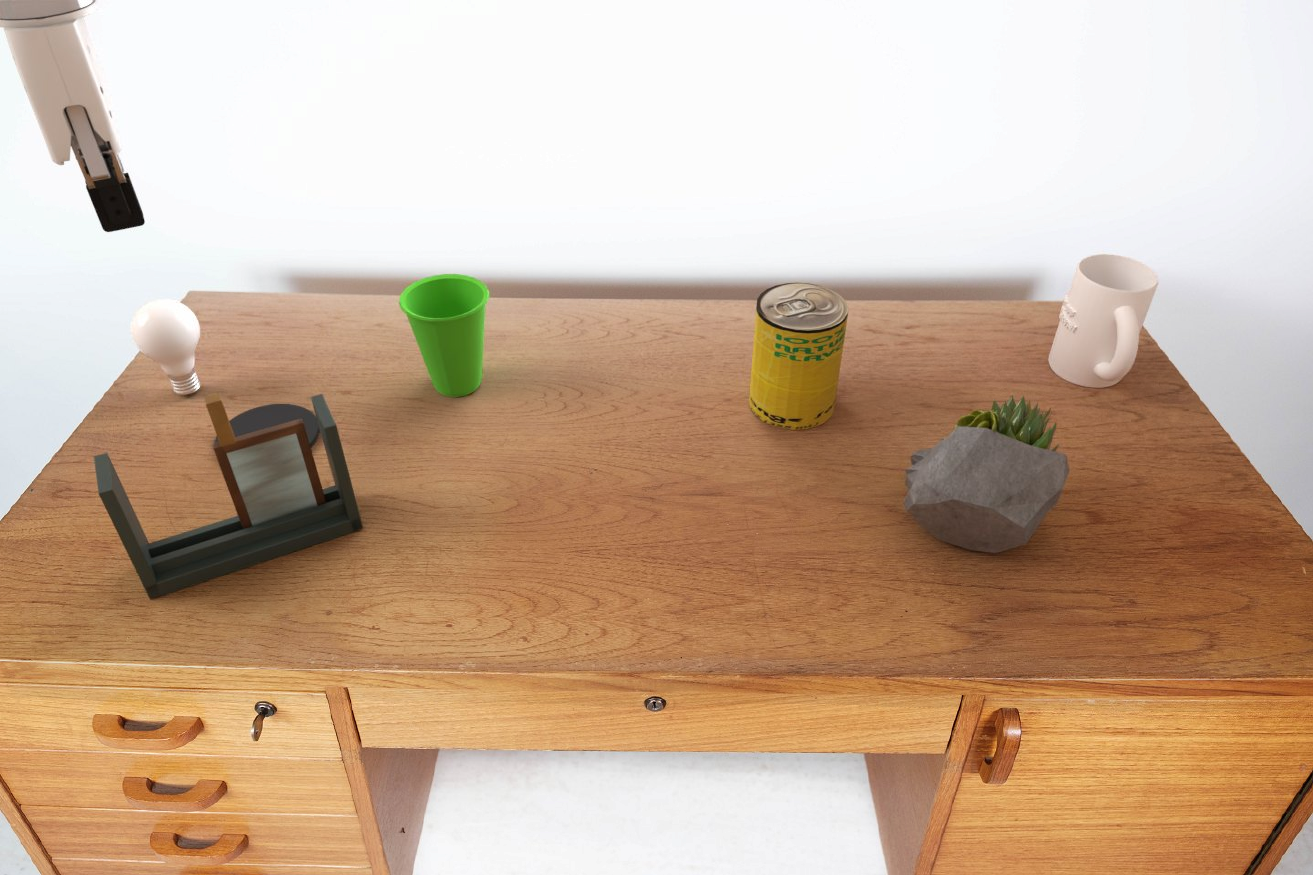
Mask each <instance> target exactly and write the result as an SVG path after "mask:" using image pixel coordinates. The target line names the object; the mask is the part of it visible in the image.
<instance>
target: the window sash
mask: <svg viewBox="0 0 1313 875" xmlns="http://www.w3.org/2000/svg"><path fill="white" fill-rule="evenodd" d="M203 400H204V403H205V407H206V409H207V412H208V415H209V417H210V421H211V423H212V426H213V429H214V431H215V434H216V436H217V437H218V440H219V442H216V443H215V442H213V443H212V444H211V446H212V449H213V452H214V455H215V457H216V460H217V463H218V465H219V468H220V472H221V474H222V476H223V479H224V482H225V484H226V487H227V489H228V492H229V495H230V498H231V500H232V503H233V506H234V509H235V511H236V515H237V516H238V517H239V520H240V522H241V525H242V528H243V529H246V528H249V527H252V526H255V525H258V524H262V523H265V522H268V521H271V520H274V519H277V518H280V517H284V516H287V515H290V514H293V513H296V512H299V511H303V510H306V509H309V508H312V507H315V506H318V505H321V504H325V503H326V499H325V496H324V492H323V489H324V488H323V486H322V482H321V479H320V475H319V472H318V468H317V465H316V462H315V458H314V455H313V450H312V447H310V444H309V440H308V437H307V433H306V430H305V426H304V423H303V420H302V419H298V420H294V421H291V422H287V423H284V424H280V425H277V426H273V427H270V428H266V429H263V430H259V431H256V432H252V433H248V434H245V435H241V436H238V437H235V436H234V433H233V430H232V428H231V425H230V422H229V421H230V419H229V417H228V414H227V410H226V407H225V405H224V402H223V399H222V396H221V393H219V392H216V393H213V394H208V395H205V396H203Z"/></svg>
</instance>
